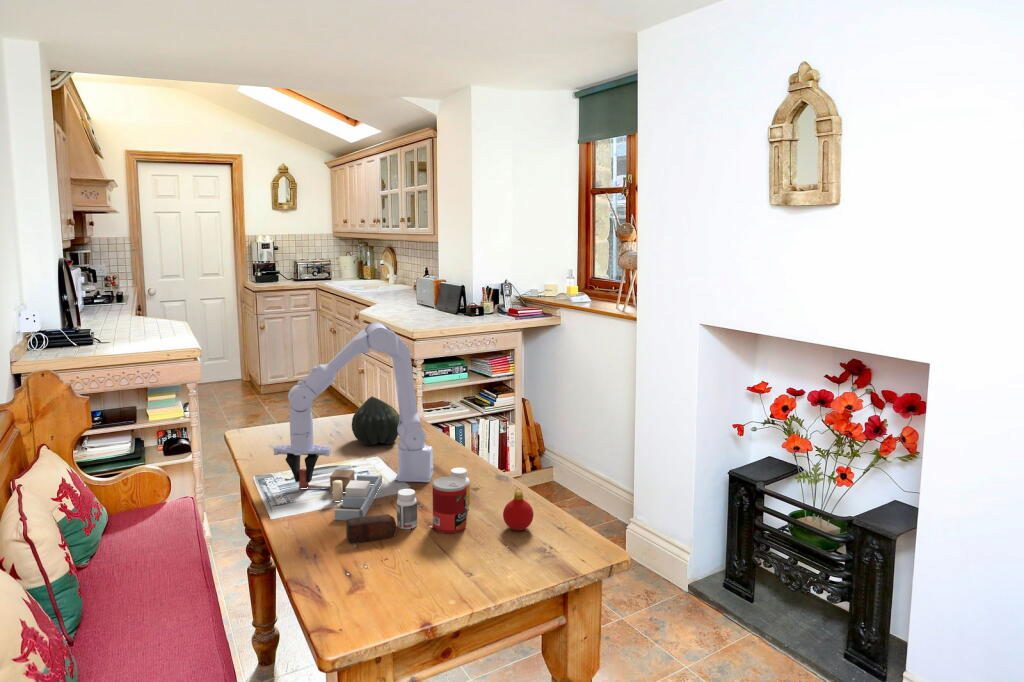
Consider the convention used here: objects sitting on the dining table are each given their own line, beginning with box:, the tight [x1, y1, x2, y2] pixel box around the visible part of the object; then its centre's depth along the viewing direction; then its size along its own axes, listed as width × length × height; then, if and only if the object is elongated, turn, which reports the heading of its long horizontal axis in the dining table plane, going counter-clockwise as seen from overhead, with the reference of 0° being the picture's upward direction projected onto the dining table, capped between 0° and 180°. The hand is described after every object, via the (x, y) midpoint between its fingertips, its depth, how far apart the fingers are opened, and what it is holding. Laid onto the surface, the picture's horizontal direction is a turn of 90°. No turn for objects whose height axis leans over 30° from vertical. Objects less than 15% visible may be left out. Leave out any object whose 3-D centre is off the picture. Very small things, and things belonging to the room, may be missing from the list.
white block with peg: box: [332, 479, 371, 502], centre depth 181 cm, size 9×5×5 cm, turn 88°
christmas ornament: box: [502, 487, 534, 531], centre depth 166 cm, size 7×7×10 cm
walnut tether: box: [298, 467, 355, 492], centre depth 188 cm, size 14×5×5 cm, turn 88°
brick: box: [345, 513, 397, 545], centre depth 161 cm, size 11×4×5 cm, turn 111°
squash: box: [351, 396, 399, 446], centre depth 225 cm, size 14×15×15 cm
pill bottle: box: [396, 488, 418, 530], centre depth 167 cm, size 5×5×8 cm
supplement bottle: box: [450, 467, 471, 510], centre depth 178 cm, size 5×5×10 cm
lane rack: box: [334, 474, 383, 521], centre depth 181 cm, size 7×22×2 cm, turn 178°
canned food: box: [432, 476, 468, 534], centre depth 167 cm, size 8×8×11 cm
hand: (303, 480), depth 188 cm, fingers closed on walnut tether, 2 cm apart
